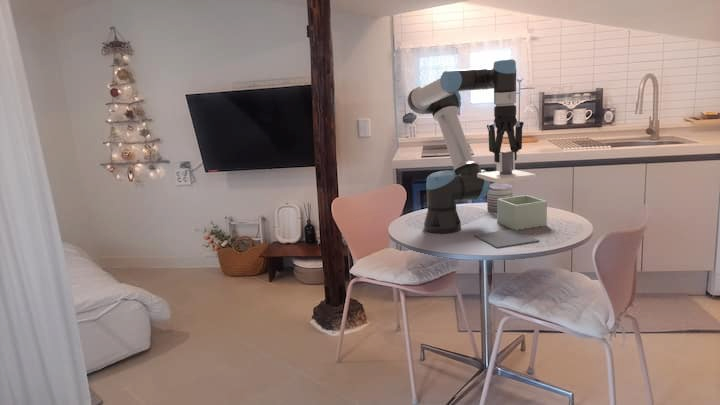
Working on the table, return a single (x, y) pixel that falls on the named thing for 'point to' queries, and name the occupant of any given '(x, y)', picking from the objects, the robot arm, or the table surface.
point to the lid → (506, 172)
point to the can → (497, 195)
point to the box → (522, 212)
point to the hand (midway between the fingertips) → (505, 170)
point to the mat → (506, 238)
